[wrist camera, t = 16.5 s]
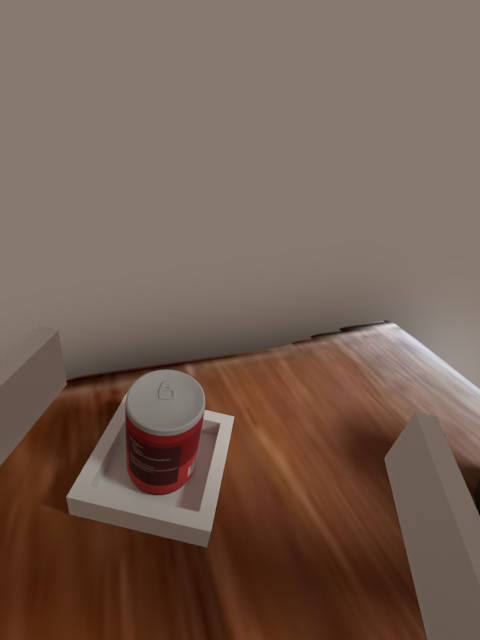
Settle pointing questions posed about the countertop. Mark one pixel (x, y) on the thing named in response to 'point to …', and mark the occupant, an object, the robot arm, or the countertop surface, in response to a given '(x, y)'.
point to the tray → (145, 509)
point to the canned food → (163, 430)
